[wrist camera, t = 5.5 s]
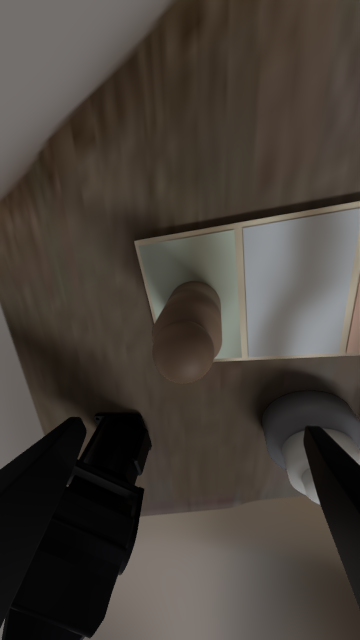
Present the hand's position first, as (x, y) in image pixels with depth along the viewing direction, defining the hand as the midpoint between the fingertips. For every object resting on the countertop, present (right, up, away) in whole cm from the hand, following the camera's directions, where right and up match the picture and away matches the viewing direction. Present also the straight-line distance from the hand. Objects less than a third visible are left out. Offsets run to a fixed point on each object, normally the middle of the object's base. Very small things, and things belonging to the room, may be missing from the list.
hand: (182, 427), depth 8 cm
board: (+9, +6, +9) cm, 14 cm away
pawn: (+1, +5, +10) cm, 11 cm away
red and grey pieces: (+16, -7, +14) cm, 22 cm away
